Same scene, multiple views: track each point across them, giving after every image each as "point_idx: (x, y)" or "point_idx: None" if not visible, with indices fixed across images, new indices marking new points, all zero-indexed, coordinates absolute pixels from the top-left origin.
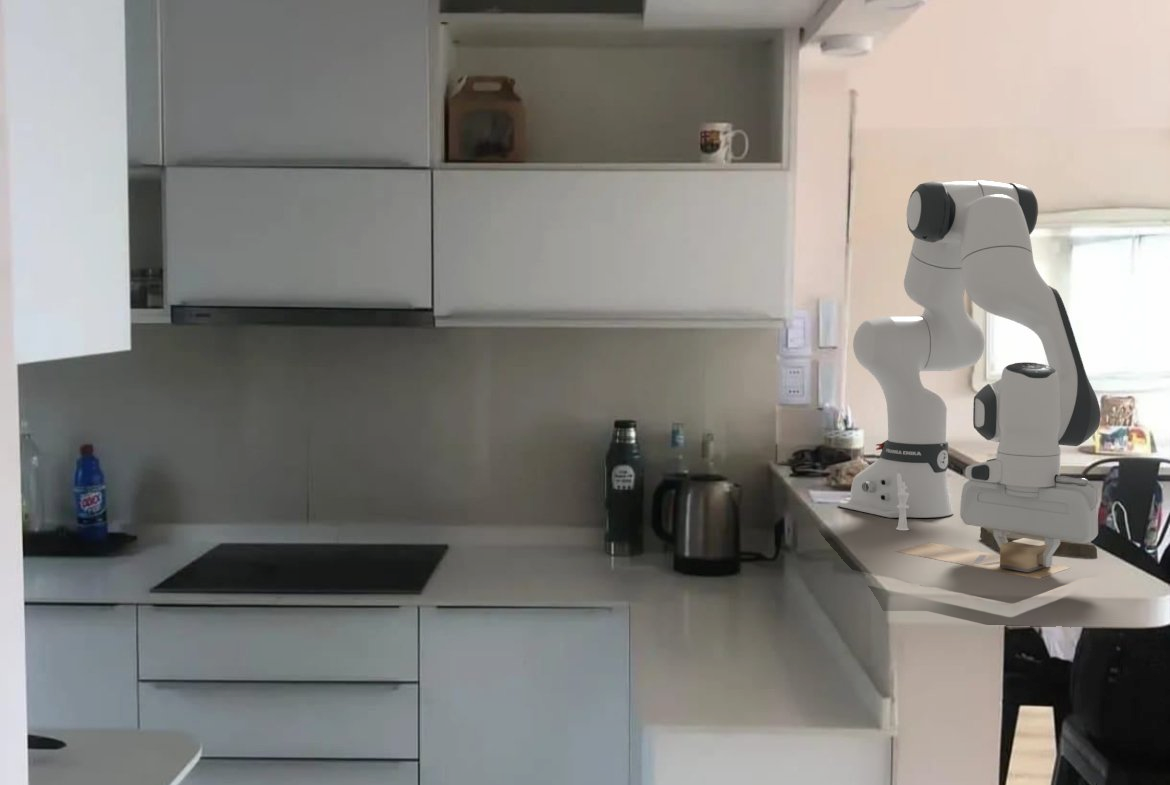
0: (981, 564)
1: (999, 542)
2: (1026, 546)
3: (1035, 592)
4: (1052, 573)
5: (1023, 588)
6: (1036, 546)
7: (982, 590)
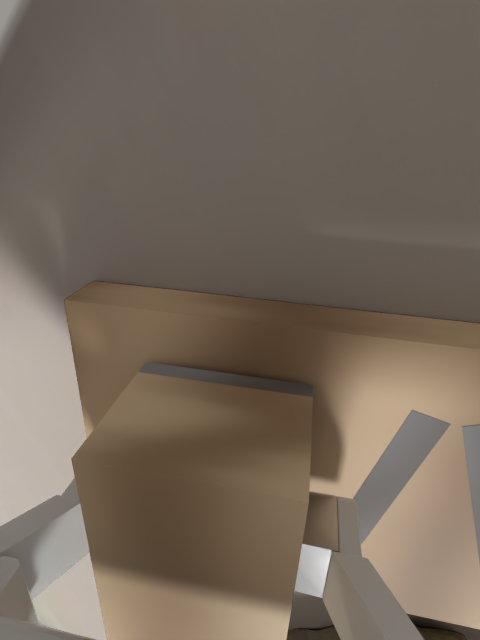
0: (446, 419)
1: (372, 593)
2: (129, 521)
3: (64, 210)
4: (88, 432)
5: (142, 247)
6: (91, 547)
7: (278, 5)
